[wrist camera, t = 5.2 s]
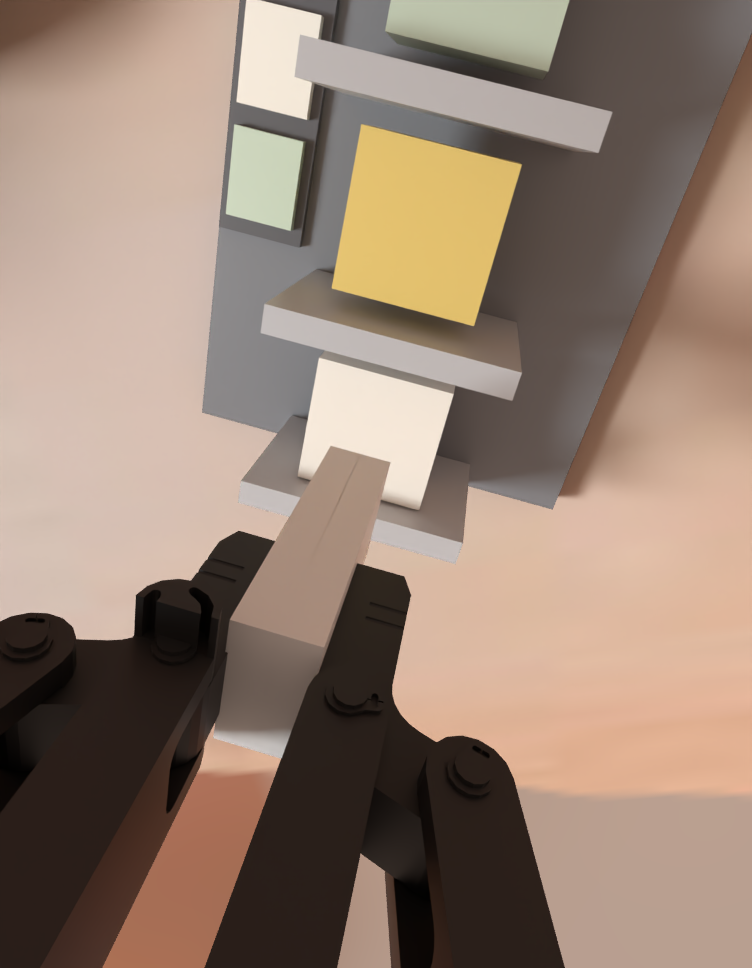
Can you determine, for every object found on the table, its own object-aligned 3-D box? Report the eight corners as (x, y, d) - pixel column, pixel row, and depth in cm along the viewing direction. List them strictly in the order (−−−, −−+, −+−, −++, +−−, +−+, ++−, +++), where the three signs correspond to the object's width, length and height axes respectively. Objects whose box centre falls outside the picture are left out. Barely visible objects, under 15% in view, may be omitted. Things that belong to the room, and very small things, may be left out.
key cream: (314, 448, 22) (297, 476, 20) (335, 337, 20) (318, 357, 19) (426, 478, 22) (419, 510, 20) (458, 370, 20) (453, 394, 18)
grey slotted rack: (212, 403, 26) (132, 475, 20) (310, -578, 14) (185, -1054, 9) (550, 496, 25) (565, 598, 20) (940, -449, 14) (1252, -871, 8)
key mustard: (348, 274, 19) (331, 288, 18) (376, 126, 18) (361, 124, 16) (476, 308, 19) (473, 326, 17) (519, 162, 17) (521, 164, 15)
